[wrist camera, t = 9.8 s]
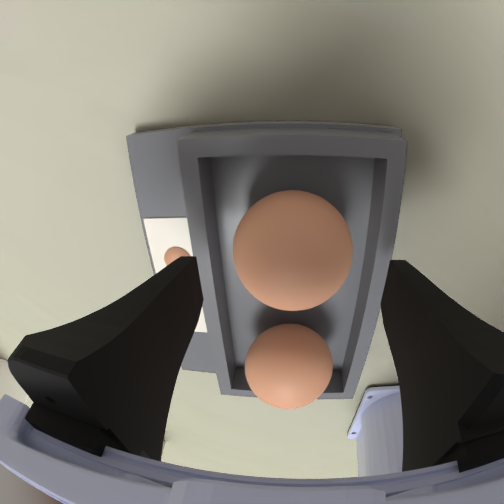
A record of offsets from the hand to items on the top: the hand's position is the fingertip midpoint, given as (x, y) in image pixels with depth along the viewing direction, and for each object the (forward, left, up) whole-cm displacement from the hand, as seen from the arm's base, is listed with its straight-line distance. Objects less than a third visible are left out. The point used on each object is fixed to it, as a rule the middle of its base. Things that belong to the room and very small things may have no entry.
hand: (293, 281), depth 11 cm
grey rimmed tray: (-3, +2, -6) cm, 7 cm away
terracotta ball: (0, 0, -5) cm, 5 cm away
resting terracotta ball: (-7, 0, -5) cm, 9 cm away
